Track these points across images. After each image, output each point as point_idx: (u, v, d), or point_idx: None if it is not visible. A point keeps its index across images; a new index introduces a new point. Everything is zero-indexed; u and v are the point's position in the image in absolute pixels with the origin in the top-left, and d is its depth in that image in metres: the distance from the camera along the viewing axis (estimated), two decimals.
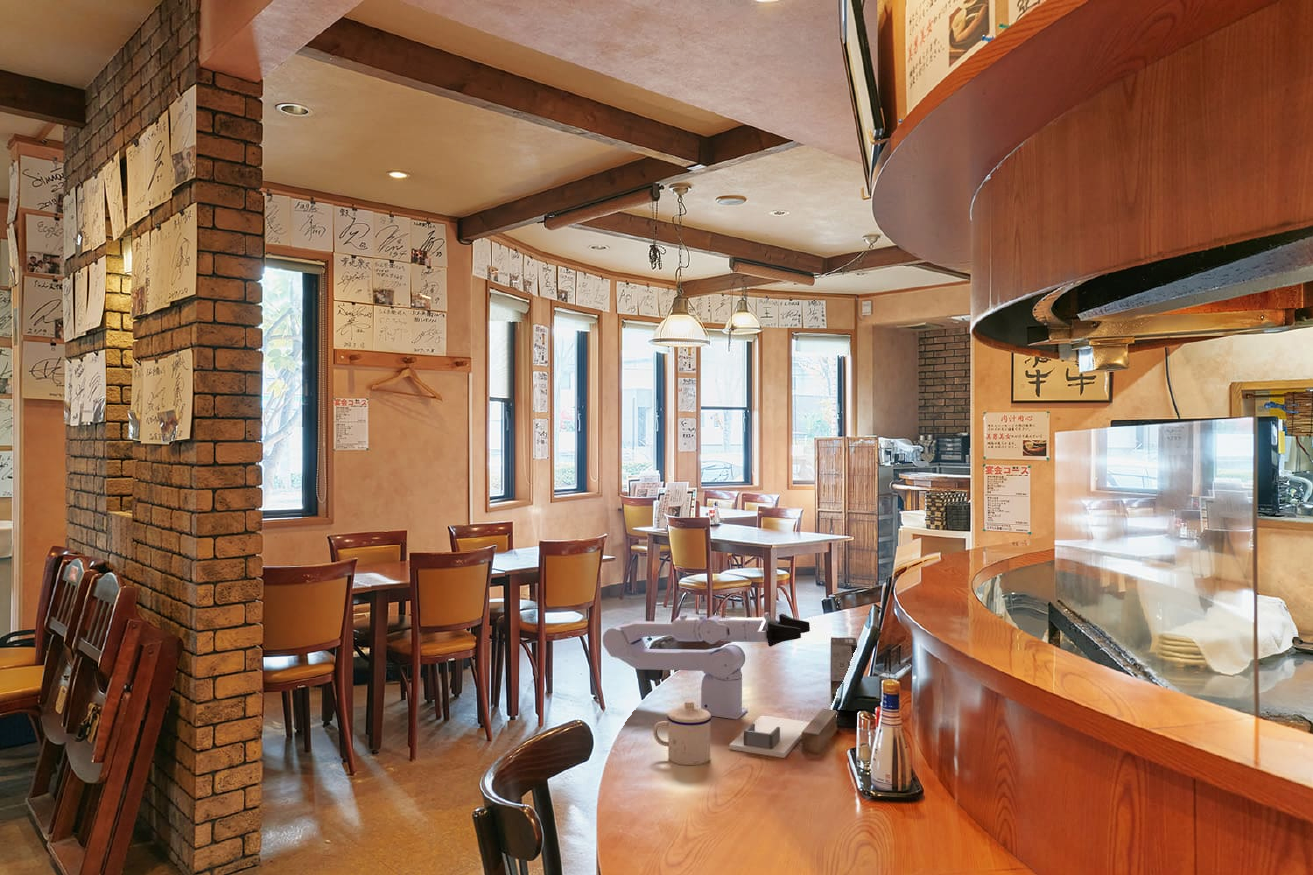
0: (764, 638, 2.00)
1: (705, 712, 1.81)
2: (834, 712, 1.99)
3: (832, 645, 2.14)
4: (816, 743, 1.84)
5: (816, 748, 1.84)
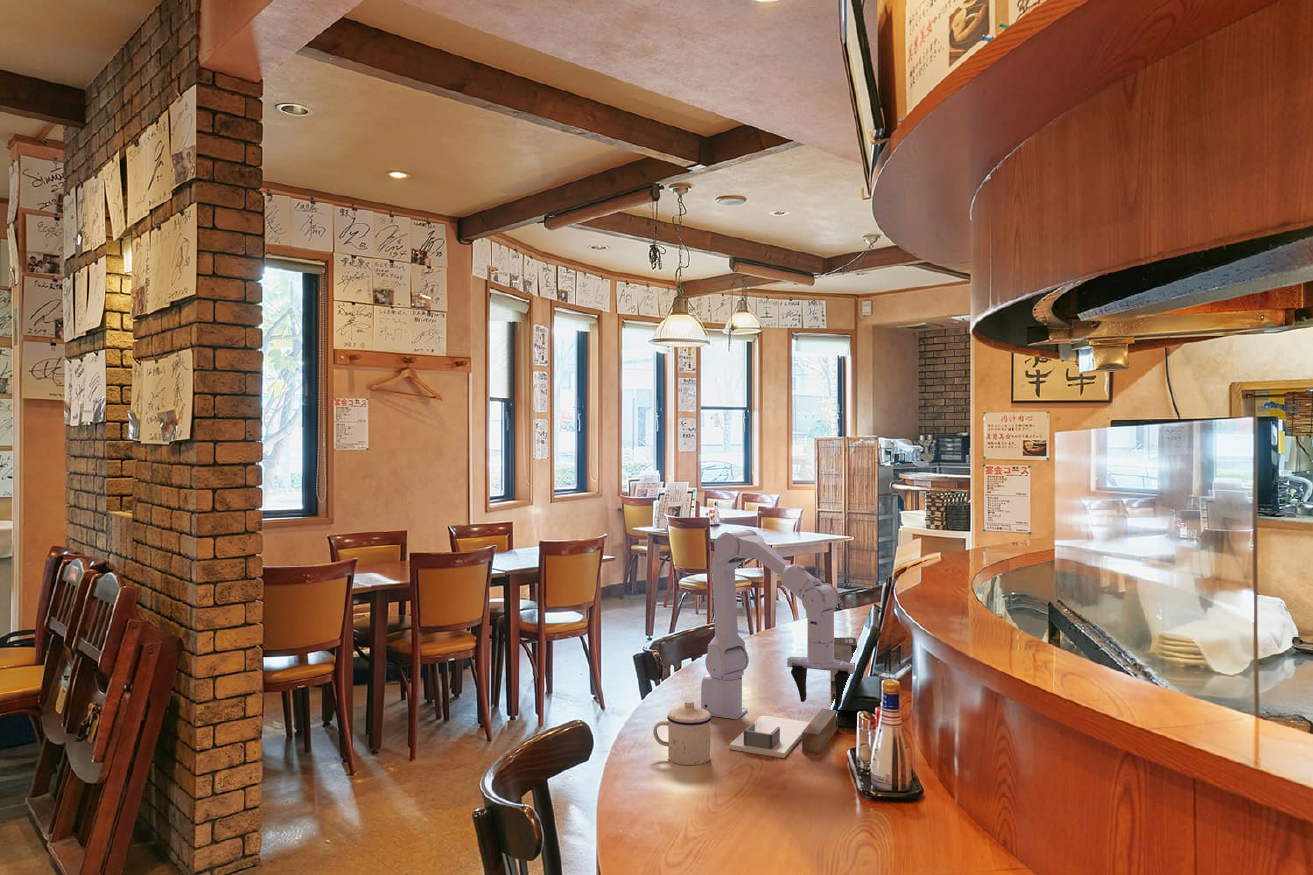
0: None
1: (705, 712, 1.81)
2: (834, 712, 1.99)
3: None
4: (816, 743, 1.84)
5: (816, 748, 1.84)
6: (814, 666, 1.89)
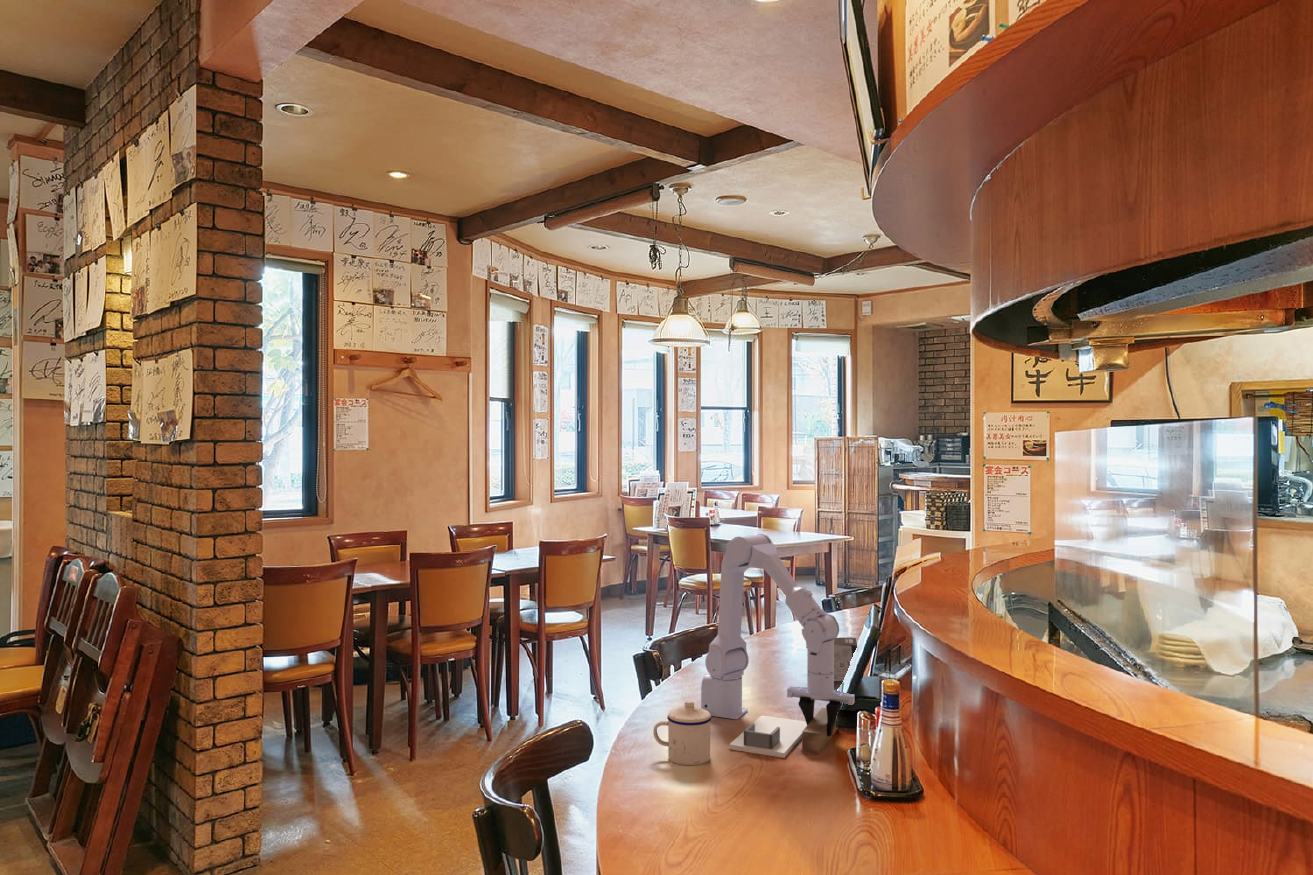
0: None
1: (705, 712, 1.81)
2: None
3: None
4: (817, 742, 1.84)
5: (817, 747, 1.84)
6: (814, 697, 1.89)
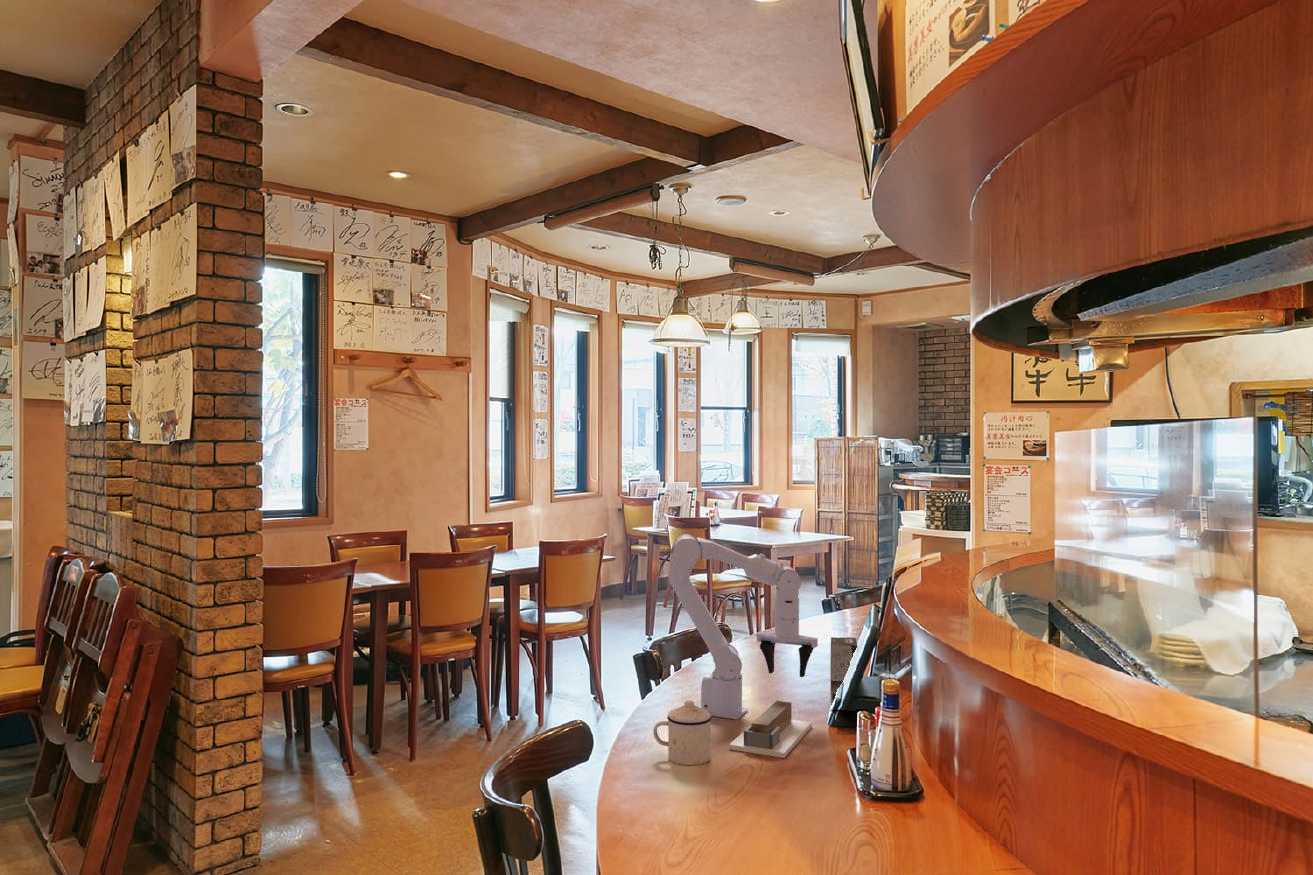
0: None
1: (705, 712, 1.81)
2: (787, 704, 2.00)
3: (832, 645, 2.14)
4: None
5: None
6: (780, 640, 2.08)
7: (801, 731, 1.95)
